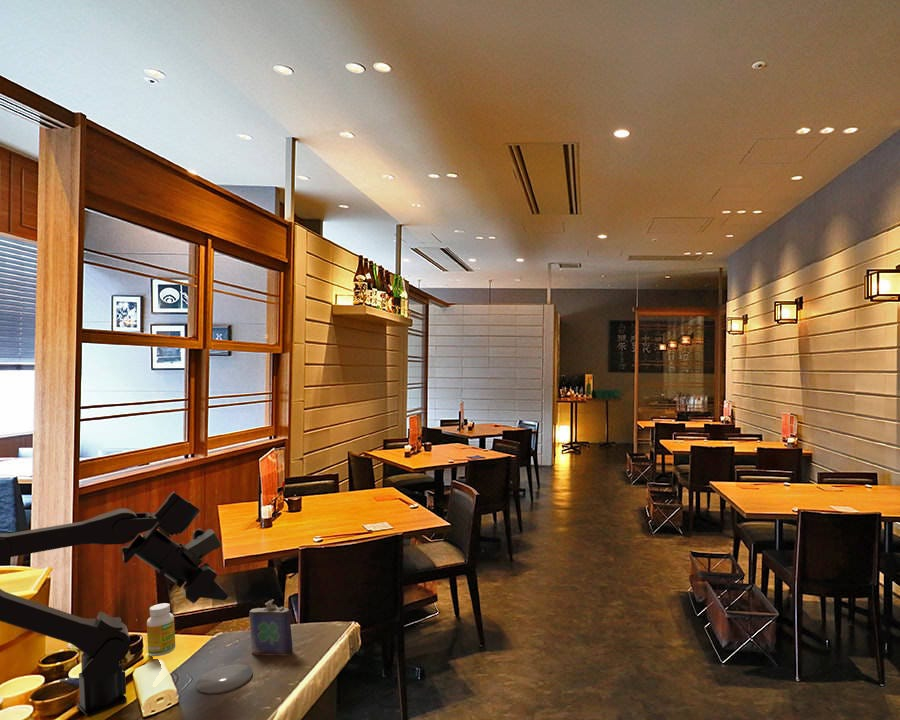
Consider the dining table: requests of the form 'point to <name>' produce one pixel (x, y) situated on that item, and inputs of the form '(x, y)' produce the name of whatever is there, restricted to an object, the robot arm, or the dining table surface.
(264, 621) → the flask
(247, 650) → the dining table surface
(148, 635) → the supplement bottle
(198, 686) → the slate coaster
